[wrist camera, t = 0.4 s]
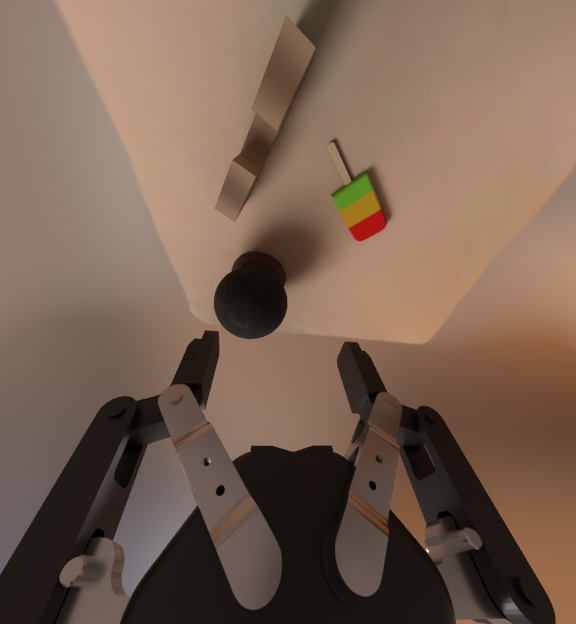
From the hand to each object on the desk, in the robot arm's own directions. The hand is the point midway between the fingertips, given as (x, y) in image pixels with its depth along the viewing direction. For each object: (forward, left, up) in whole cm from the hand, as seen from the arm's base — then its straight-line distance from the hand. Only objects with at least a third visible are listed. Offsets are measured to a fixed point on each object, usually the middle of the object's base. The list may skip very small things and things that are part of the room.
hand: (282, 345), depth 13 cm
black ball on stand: (+13, -12, -28) cm, 33 cm away
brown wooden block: (-8, -3, -28) cm, 29 cm away
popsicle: (+2, +9, -29) cm, 30 cm away
